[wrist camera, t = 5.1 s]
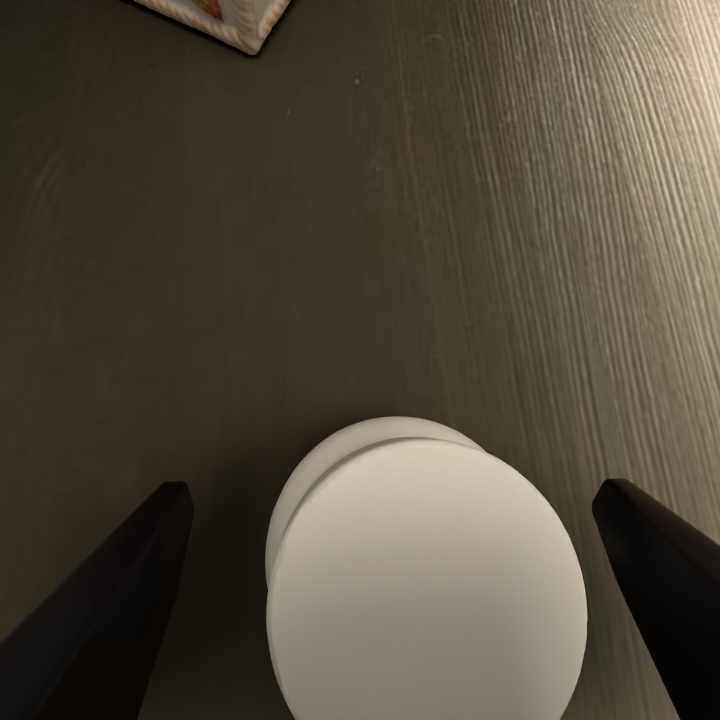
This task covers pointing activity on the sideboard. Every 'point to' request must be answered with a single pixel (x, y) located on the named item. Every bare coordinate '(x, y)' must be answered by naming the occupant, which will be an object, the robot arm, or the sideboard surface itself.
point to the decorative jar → (225, 18)
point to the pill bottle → (420, 582)
